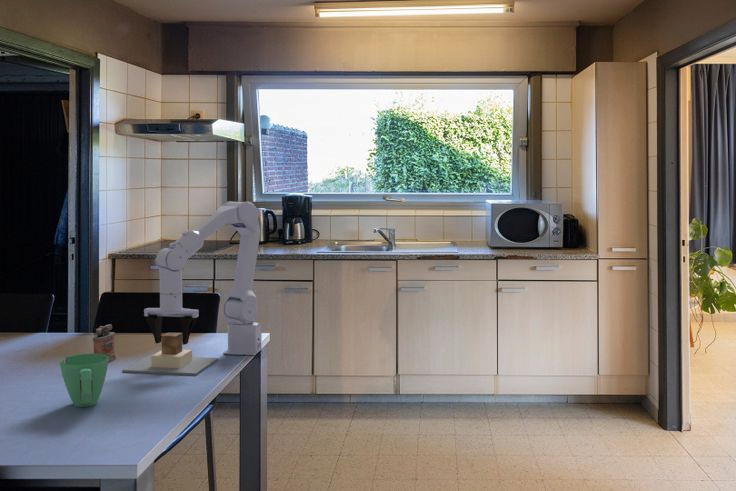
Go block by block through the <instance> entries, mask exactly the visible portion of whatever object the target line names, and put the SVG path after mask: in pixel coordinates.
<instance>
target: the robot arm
mask: <svg viewBox="0 0 736 491" xmlns="http://www.w3.org/2000/svg"><path fill="white" fill-rule="evenodd" d="M259 217H260V210H259V209H258V208H257V206H256V205H255V204H254V203H253V202H251V201H231V200H229V201H225V203H224V204H222V205H220V206H219V207H218V208H217V210H216V211H215V212H214V213H213V214H212V215H211V216H210V217H208V218H207V220H206V221H205V222H203V223H202V224H201V225H200V226H199V227H198V228H196V229H195V230H192V229H190V230H184V231H183V232H182V233H181V234H182V235H181V236H180V237H179V238H178V239H177V240H175V241H174V242H170V243H169V247H165V248H161V249H160V250H159V251H158V253H157V254H156V258H154V264H155V265H156V267H157V269H158V274H159V307H147V308H144V309H143V312H144V313H143V316H144V317H147V318H146V319H145V320H146V323H147V325H148V326H149V329H150V330H151V332H152V333H151V334H152V335H153V339H154V341H155V342H154V343H155V344H160V343H162V325H163V318H164V317H170V318H171V317H172V318H173V317H175V318H177V317H178V318H181V319H179V320H180V326H181V333H182V346H184V345H187V344H189V339H190V334H191V332H192V329H193V327H194V324H195V322H196V321H197V318H198V317H199V313H200V312H199V309H193V308H192V309H191V308H185V307H183V270H182V269H184V268H185V266H186V264H187V260H188V259H190V258H191V257H192V256H193V255H194V254H196V253H197V252H198V251H199V250H201V248H203V246H204V241H205V240H206V239H207V238H209V237H210V236H211V235H213V234H214V233H215V232H217V231H218V230H219V229H221V228H222V227H223V226H225V225H230V226H232V227H233V228H235V229H236V231H237V232H238V233H239V235H240V239H239V246H238V252H237V259H236V266H235V273H234V281H233V286H232V288H231V290H229V291H228V293H226V295H227V296H226V299H225V300H224V302H223V304H222V313H223V316H224V317H225V318H226V322H227V349H226V350H225V351H223V352H222V354H223V355H239V356H256V355H257V354H259V352H261V351H262V350H263V346H262V325H261V323H259V322H256V321H255V320H256V319H257V316H258V313H259V309H258V304H257V303H258V302H257V301H258V298H257V296H256V294H255V293H254V291H253V285H254V278H255V271H256V266H257V258H258V251H259V245H260V244H259V243H260V236H261V226H260V223H259Z"/></svg>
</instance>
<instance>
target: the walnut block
mask: <svg viewBox="0 0 736 491" xmlns="http://www.w3.org/2000/svg"><path fill="white" fill-rule="evenodd" d="M161 336H162V339H161V350H162V354H171V355H177V354H178V353H180V352H182V349H183V343H182V332H166V333H164V334H161Z"/></svg>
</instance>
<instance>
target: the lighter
mask: <svg viewBox="0 0 736 491" xmlns="http://www.w3.org/2000/svg"><path fill="white" fill-rule="evenodd" d="M112 329H113V325H112V323H111V324H106V325H104V326H103V325H100V326H99V327H98V328H95V332H96V335H95V336H93V337H92V342H93V354H104V355H107V356H108V364H110V363H112V362H114V361H115V360H116V353H115V350H116V348H115V346H116V345H115V336H116V333H115V332H114V331H111V330H112Z"/></svg>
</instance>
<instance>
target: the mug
mask: <svg viewBox="0 0 736 491" xmlns="http://www.w3.org/2000/svg"><path fill="white" fill-rule="evenodd" d="M108 365H109V363H108V356H107V355H104V354H94V353H81V354H74V355H70V356H67V357H66V358H65V361H64V358H61V359H60V361H59V366H60V369H61V374H62V378H63V382H64V385H65V387H66V391H67V394H68V396H69V398H70V400H71V402H72V404H73V406H74V407H77V408H78V407H79V408H80V407H81V408H82V407H85V408H86V407H91V406H94V405H96V404H97V403H98V402H99V400H100V396H101V394H102V392H103V391H102V390H103V386H104V384H105V381H106V377H107V371H108Z"/></svg>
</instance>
